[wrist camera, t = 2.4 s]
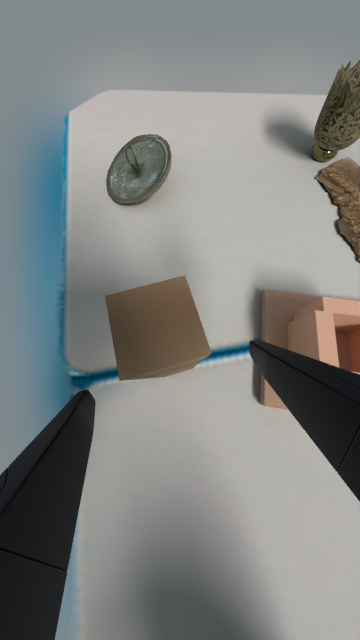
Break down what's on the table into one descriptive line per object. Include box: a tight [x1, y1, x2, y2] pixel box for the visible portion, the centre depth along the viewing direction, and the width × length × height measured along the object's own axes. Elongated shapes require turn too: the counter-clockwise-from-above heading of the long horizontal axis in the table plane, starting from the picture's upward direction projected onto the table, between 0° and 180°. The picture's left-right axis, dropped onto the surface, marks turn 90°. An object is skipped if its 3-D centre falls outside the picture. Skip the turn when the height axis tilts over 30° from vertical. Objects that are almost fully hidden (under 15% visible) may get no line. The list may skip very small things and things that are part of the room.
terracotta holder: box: [260, 290, 360, 410], centre depth 16 cm, size 12×12×5 cm
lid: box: [107, 134, 171, 204], centre depth 24 cm, size 11×10×5 cm
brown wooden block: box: [106, 276, 212, 381], centre depth 12 cm, size 3×3×13 cm
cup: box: [312, 61, 360, 162], centre depth 24 cm, size 8×7×8 cm
